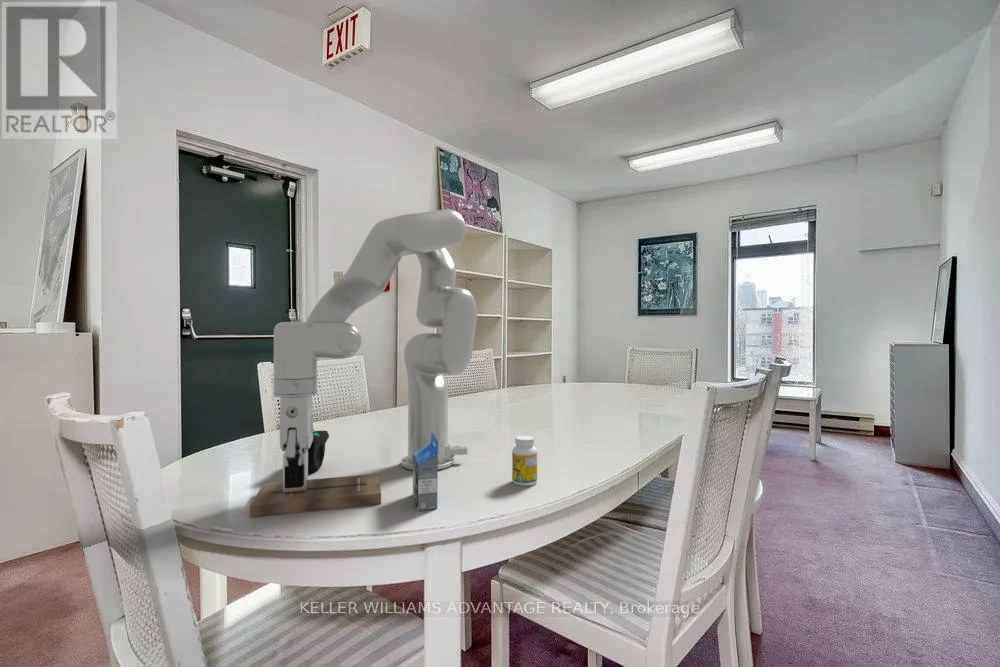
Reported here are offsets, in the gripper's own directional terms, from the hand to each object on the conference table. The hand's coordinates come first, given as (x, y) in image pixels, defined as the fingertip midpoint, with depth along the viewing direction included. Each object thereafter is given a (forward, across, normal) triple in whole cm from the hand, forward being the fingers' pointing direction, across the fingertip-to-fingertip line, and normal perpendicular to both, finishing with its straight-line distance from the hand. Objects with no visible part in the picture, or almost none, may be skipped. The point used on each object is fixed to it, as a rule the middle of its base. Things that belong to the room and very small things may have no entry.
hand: (295, 483), depth 87 cm
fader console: (+3, 0, -4) cm, 6 cm away
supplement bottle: (+4, -2, -46) cm, 46 cm away
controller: (+4, +20, -2) cm, 20 cm away
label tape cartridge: (+4, -7, -23) cm, 25 cm away
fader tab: (+1, 0, 0) cm, 1 cm away
